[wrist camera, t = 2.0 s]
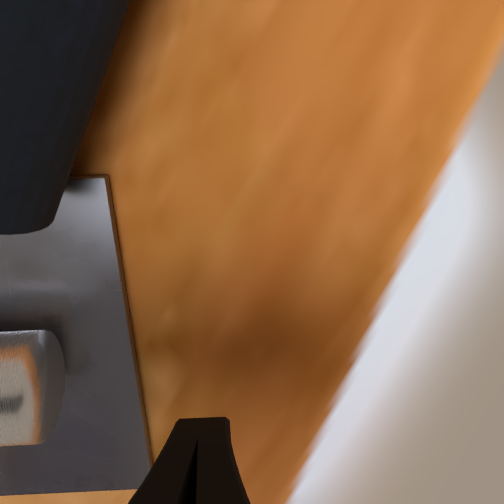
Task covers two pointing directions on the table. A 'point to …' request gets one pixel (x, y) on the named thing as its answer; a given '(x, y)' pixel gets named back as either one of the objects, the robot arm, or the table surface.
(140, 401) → the grey cradle rack
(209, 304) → the table surface
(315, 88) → the table surface
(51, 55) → the pipe connector
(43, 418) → the grey long cylinder
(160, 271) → the table surface
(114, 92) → the table surface
